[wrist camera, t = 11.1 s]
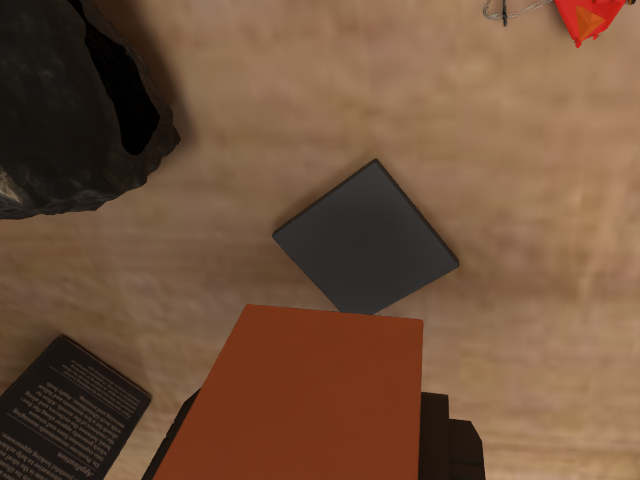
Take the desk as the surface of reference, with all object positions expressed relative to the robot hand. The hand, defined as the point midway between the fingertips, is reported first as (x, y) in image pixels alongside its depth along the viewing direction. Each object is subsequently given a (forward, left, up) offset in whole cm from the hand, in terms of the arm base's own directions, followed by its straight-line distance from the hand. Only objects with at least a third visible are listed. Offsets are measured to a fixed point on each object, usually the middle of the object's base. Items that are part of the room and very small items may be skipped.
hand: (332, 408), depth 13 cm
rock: (-10, 0, -5) cm, 11 cm away
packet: (0, 0, 0) cm, 0 cm away
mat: (0, 0, -8) cm, 8 cm away
